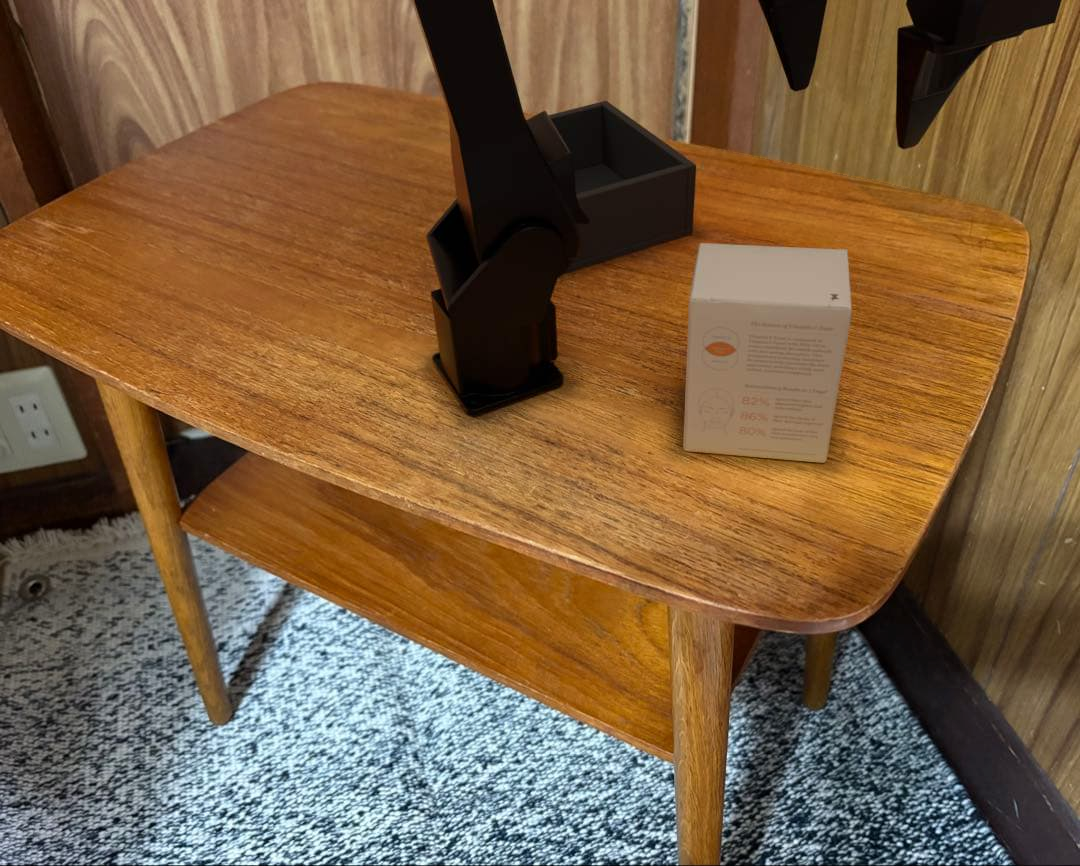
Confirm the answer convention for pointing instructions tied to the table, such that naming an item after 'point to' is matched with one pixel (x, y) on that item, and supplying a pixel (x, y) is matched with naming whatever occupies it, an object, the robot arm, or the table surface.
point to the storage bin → (624, 184)
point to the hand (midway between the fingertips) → (850, 116)
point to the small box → (765, 350)
